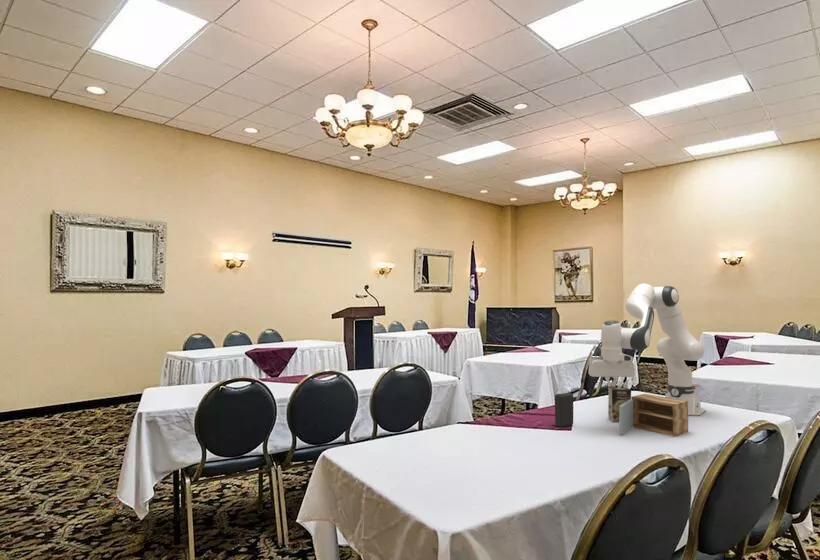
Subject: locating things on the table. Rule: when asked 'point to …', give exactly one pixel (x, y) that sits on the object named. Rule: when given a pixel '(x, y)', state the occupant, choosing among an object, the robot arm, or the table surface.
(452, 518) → the table surface
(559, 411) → the card reader
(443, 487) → the table surface
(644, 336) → the robot arm
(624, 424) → the door
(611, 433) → the table surface
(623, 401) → the coffee box
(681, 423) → the cabinet
